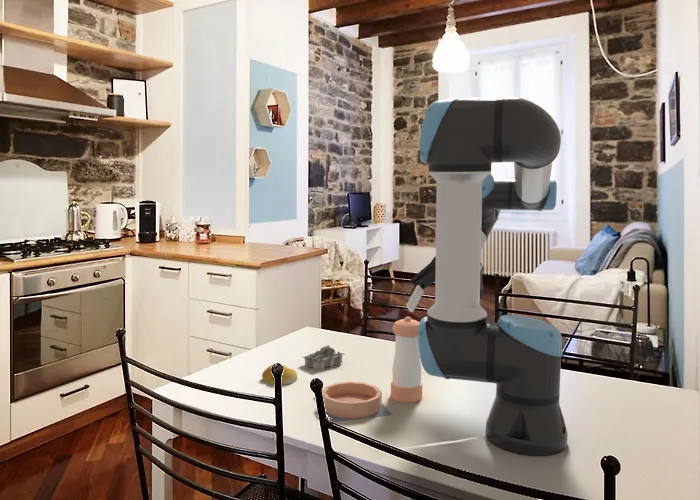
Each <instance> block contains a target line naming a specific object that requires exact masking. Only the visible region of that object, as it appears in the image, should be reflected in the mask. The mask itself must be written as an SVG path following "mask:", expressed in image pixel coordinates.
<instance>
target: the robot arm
mask: <svg viewBox="0 0 700 500" xmlns="http://www.w3.org/2000/svg"><path fill="white" fill-rule="evenodd" d="M560 130H561V129H559V126H558V124H557V123H556V121H555V119H554V118H553V116H552V115H550V114H549V113H548V111H546V110H545V109H544V108H542V107H541V106H540V105H538V104H537V103H534V102H533V101H530V100H528V99H525V98H522V97H517V96H504V97H502V96H501V97H472V98H471V97H469V98H468V97H467V98H449V99H442V100H435V101H433V102H432V103H431V104H430V105H429V106H428V107H427V109H426V111H425V114H424V116H423V120H422V125H421V130H420V137H419V159H420V161H421V163H423V164H425V165H428V175H430V176H431V177H432V178H433V179H434V180H435V182H436V195H435V197H436V198H435V199H436V205H435V206H436V207H435V209H436V210H435V211H436V212H435V213H436V215H435V255H434V257H433V258H432V259H431V262H429V263H428V264H427V265H426V266H425V267H423V268H422V269H421V270H420V271H419V272H418V273H417V274H415V275H414V276H413V277H412V278H411V279H410V280H409V281H410V283H411V285H412V286H413V287H412V290H411V292H410V293H409V299H408V301H407V303H406V305H405V306H406V308H407V310H408V311H409V312H410V313H414V311H415V309H416V308H417V306H418V304H419V302H420V300H421V298H422V296H423V294H424V289H425V288H427V287H429V286H431V285H432V284H434V283H435V286H434V291H435V292H434V293H435V294H434V295H435V296H434V298H435V299H434V303H433V305H431V306H430V307H429V308H428V309H427V312H426V313H427V316H424V317H422V318H420V321H419V322H420V324H419V337H418V345H419V355H420V362H421V367H422V369H424V371H425V373H426V374H427V375H429V376H432V377H436V378H443V379H445V380H451V379H452V380H460V381H461V380H462V381H470V382H479V383H490V384H496V388H495V389H496V392H495V396H494V397H495V398H494V399H493V400H494V401H493V402H492V405H491V407H490V411H489V415H488V416H487V418H486V422H485V436H486V438H487V439H488V440H489V441H490V442H491V443H492V444H493V445H495V446H497V447H499V448H501V449H504V450H506V451H509V452H512V453H516V454H520V455H528V456H548V455H549V456H550V455H551V456H552V455H556V454H559V453H561V452H562V451H564V450H566V448H567V447H568V429H567V427H566V423H565V422H566V421H565V419H564V415H563V412H562V409H561V408H562V407H561V405H560V391H561V364H562V363H561V362H562V359H561V358H562V356H563V350H562V347H563V345H562V343H563V342H562V341H563V340H562V338H563V337H562V333H561V332H560V330H559V329H558V328H557V327H556V326H555V325H553V324H551V323H549V322H548V321H544V320H542V319H538V318H534V317H530V316H525V315H517V314H504V315H500V316H499V317H498V320H497V322H489V321H488V313H487V311H486V310H485V309H484V307H482V306H481V303H480V301H481V299H482V298H483V297H484V283H483V281H484V280H483V272H484V265H483V263H482V261H481V257H482V256H481V255H482V250H483V248H484V246H485V244H486V242H487V239H488V238H489V236H490V233H491V232H492V230H493V228H494V226H495V224H497V221H499V220H498V219H499V216H500V213H501V211H504V210H505V211H538V212H542V211H552V210H555V208H556V206H557V205H556V204H557V194H558V193H557V191H558V190H557V189H558V186H557V185H558V184H557V181H556V180H554V179H551V175H552V167H553V162H554V161H555V160H556V158H557V157H558V155H559V153H560V150H561V143H562V136H561V135H562V134H561V131H560ZM493 163H513V168H514V170H513V171H514V179H495V178H494V176H493V175H492V164H493ZM480 298H481V299H480Z"/></svg>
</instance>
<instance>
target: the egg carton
mask: <svg viewBox="0 0 700 500" xmlns="http://www.w3.org/2000/svg"><path fill="white" fill-rule="evenodd" d="M343 355H345V353H343V352H341V353H340V351H337V352H336V351H335V349H334V348H333V347H330V344H329V345H324V346H322V347H321V348H320V349H319V350H316V351H315V352H313V353H310V354H308V355H305V356H302V358H303V359H304V367H306V368H309V367H310V368H312V369H313V370H314V371H316V370H317V369H321V370H320V371H323V370H325V368H326V367H325V366H333V367H334V365H342V364H343ZM341 363H342V364H341ZM322 369H323V370H322ZM317 371H318V370H317Z"/></svg>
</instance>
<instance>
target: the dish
mask: <svg viewBox="0 0 700 500" xmlns="http://www.w3.org/2000/svg"><path fill="white" fill-rule="evenodd" d="M321 392H322V393H323V399H324V404H325V409H326V413H328V414H331V415H334V416H336V417H344V418H360V417H368V416H371V415H373V414H375V413H377V412H379V410H380V408H381V406H382V404H383V402H382V399H383V397H382V395H383V391H382V390H381V389H379V387H378V386H376V385H374V384H369V383H367V382H358V381H344V382H343V381H342V382H336V383H332V384H329V385H327V386H324V388H323V389H322V390H321Z"/></svg>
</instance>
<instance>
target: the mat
mask: <svg viewBox="0 0 700 500" xmlns="http://www.w3.org/2000/svg"><path fill="white" fill-rule="evenodd" d="M315 398H316V397H313V401H315ZM326 414H327V415H328V417H330V418H329V419H330V421H332V422H331V423H336V422H337V423H338V422H345V421H353V420H363V419H370V418H377V417H385V416H393V413H392V412H391V411H390V410H389V409H388V407H386V406H385V405H384V404H383V403H382V406H381V408H380V410H379V412H377V413H375V414H373V415H371V416H368V417H360V418H344V417H336V416H334V415H331V414H328V413H326ZM328 417H327V418H328ZM331 418H332V419H331Z"/></svg>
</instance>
